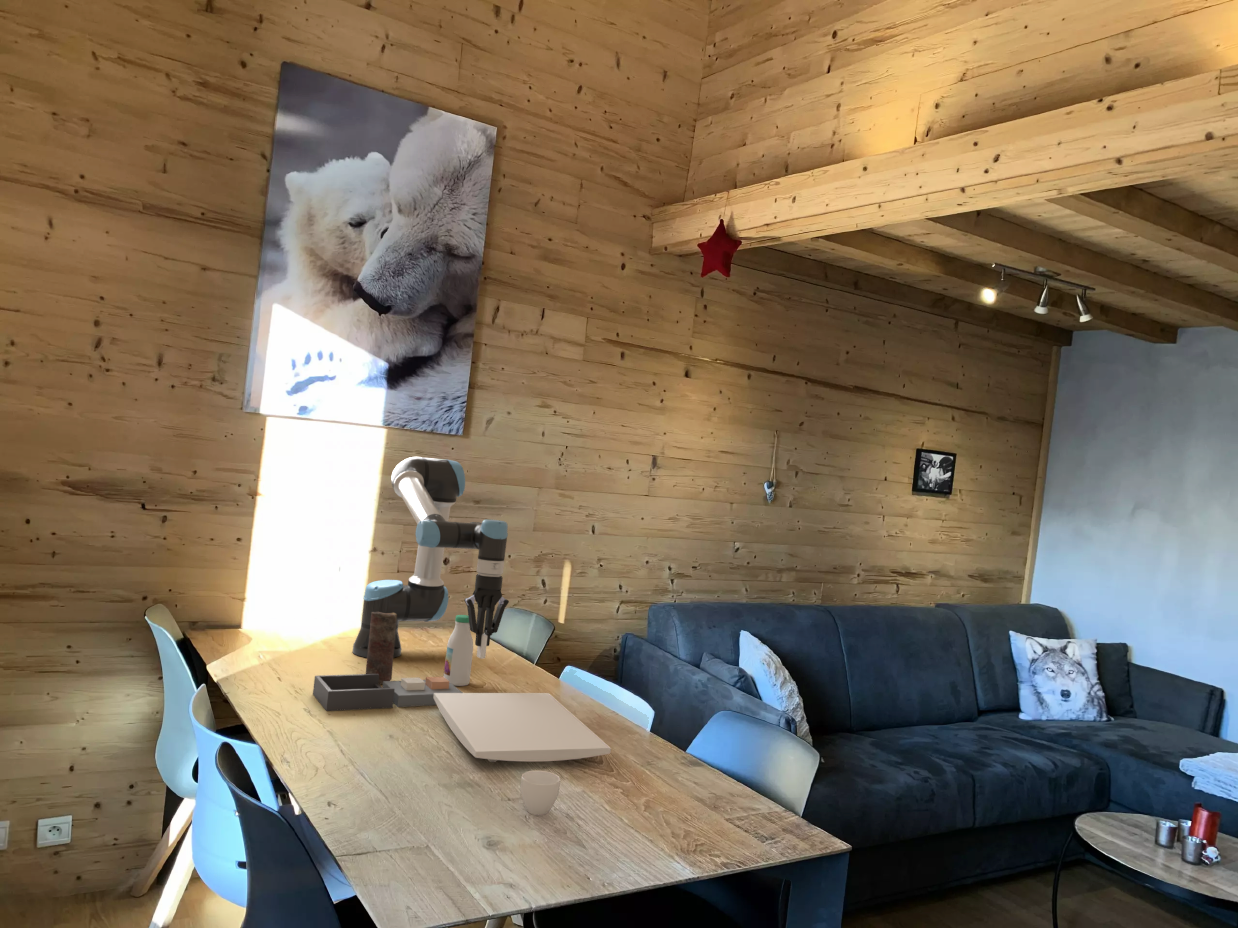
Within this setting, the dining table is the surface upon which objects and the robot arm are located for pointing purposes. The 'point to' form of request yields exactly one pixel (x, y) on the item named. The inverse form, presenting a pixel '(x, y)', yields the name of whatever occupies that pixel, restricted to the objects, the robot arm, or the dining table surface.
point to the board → (518, 727)
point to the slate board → (416, 694)
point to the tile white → (412, 683)
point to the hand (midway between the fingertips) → (480, 657)
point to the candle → (381, 645)
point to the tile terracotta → (437, 683)
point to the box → (352, 692)
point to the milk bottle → (459, 653)
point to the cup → (539, 791)
